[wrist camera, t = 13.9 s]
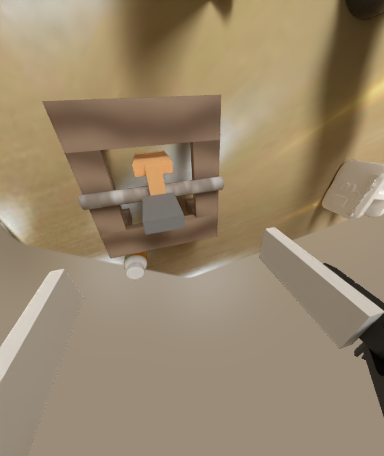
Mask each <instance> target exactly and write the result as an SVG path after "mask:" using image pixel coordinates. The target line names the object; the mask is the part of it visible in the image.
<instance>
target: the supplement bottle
mask: <svg viewBox="0 0 384 456" xmlns="http://www.w3.org/2000/svg"><path fill="white" fill-rule="evenodd" d="M146 267H147V251H145V252H140V253H135V254H130V255H125V261H124V268H125V270H126V275H127V277H128V278H130V279H140V278H141V277H143V275H144V270H145V269H146Z"/></svg>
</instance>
